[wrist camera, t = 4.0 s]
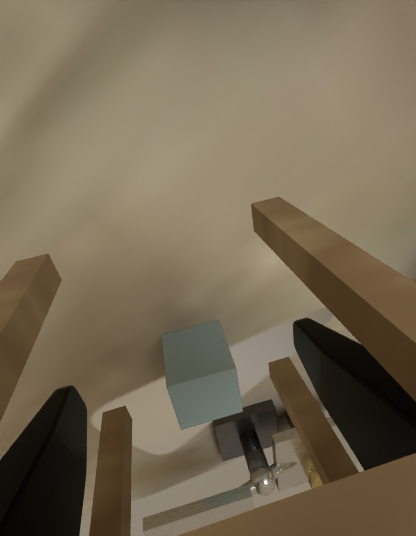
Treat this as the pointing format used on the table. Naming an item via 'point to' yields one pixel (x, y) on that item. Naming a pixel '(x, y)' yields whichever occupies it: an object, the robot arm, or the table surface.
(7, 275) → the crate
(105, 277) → the table surface
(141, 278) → the table surface
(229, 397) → the block
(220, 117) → the table surface
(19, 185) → the table surface
